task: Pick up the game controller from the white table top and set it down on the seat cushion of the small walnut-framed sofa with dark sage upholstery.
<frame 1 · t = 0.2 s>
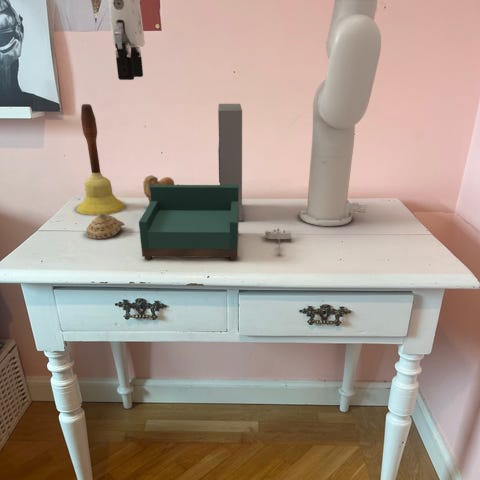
hand: (131, 78, 103), 31 cm above the table, tool pointing down, fingers open, 9 cm apart
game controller: (277, 245, 103), on the table
tall grey pillar: (229, 213, 123), on the table
sofa: (193, 245, 103), on the table
seashell: (105, 233, 110), on the table
handbell: (101, 208, 126), on the table
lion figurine: (162, 206, 128), on the table
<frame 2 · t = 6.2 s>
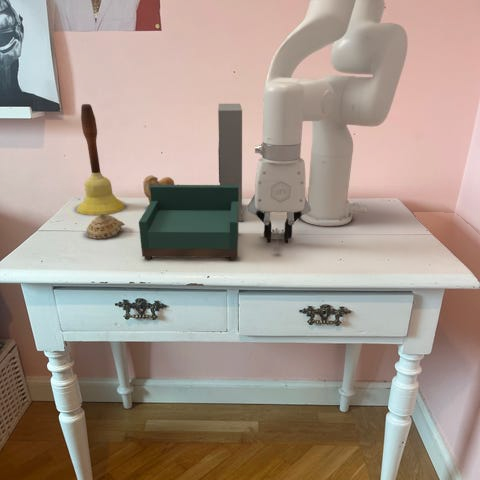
hand: (277, 240, 103), 1 cm above the table, tool pointing down, fingers closed on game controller, 3 cm apart
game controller: (275, 245, 104), on the table, touching gripper
everything else where it was.
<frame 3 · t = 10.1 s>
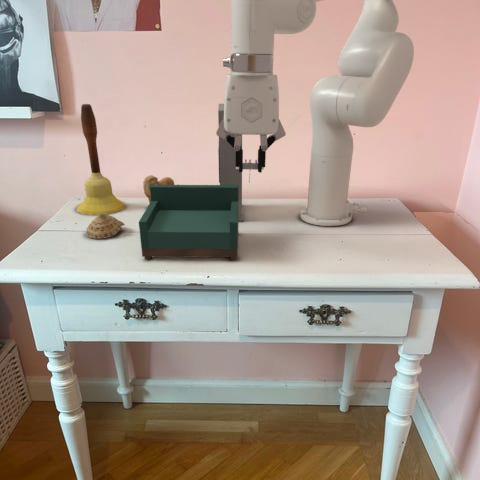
hand: (250, 170, 95), 16 cm above the table, tool pointing down, fingers closed on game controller, 3 cm apart
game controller: (248, 176, 95), point 15 cm above the table, touching gripper
everything else where it was.
when the fingers open (7 cm above the table, at t = 14.5 s): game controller stays where it is, resting on sofa.
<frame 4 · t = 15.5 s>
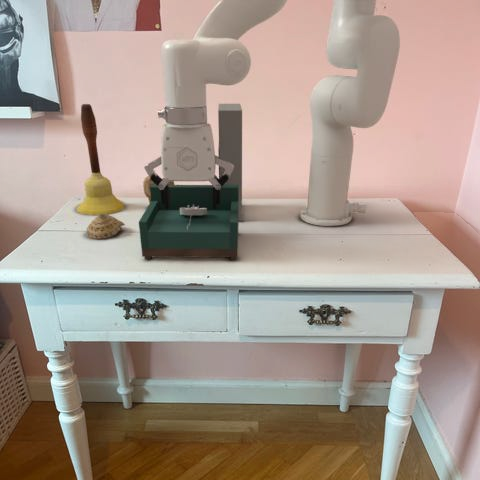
hand: (191, 207, 97), 9 cm above the table, tool pointing down, fingers open, 9 cm apart
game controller: (190, 221, 98), point 6 cm above the table, touching sofa
everything else where it was.
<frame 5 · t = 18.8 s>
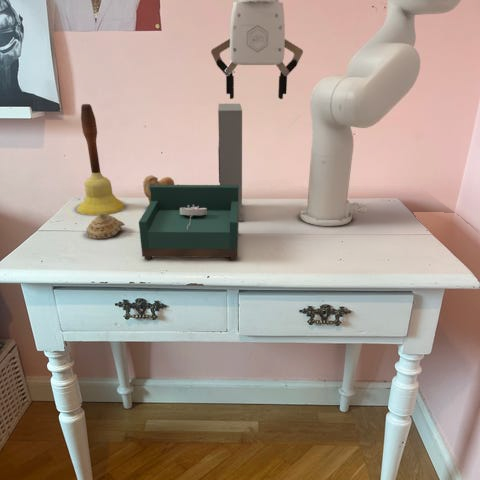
hand: (256, 98, 94), 28 cm above the table, tool pointing down, fingers open, 9 cm apart
nothing on the table moved.
at the end: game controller inside the target area (0.3 cm from its centre), point 5.8 cm above the table; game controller touching sofa; the gripper is holding nothing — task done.
